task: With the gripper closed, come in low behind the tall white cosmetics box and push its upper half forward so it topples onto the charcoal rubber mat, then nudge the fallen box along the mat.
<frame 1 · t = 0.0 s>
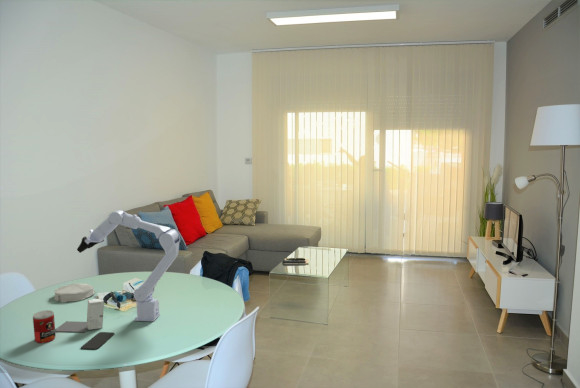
hand: (83, 248, 207), 32 cm above the table, tool tilted 50°, fingers open, 7 cm apart
mat: (75, 327, 199), on the table
skincare box: (94, 327, 198), on the table, touching mat
phone: (98, 342, 186), on the table
canned food: (45, 339, 188), on the table
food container: (74, 296, 239), on the table
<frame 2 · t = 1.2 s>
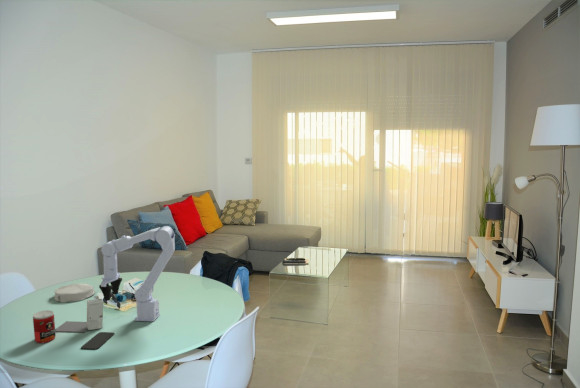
hand: (111, 296, 207), 10 cm above the table, tool pointing down, fingers open, 7 cm apart
nothing on the table moved.
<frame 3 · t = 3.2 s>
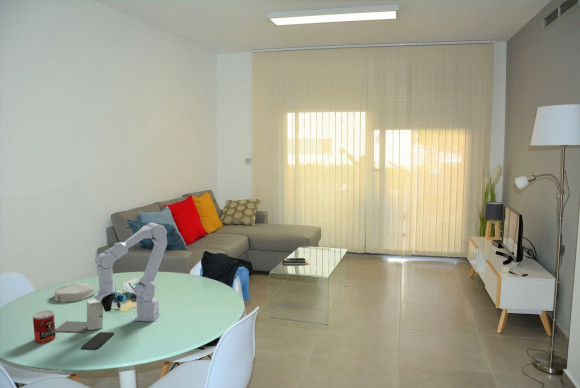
hand: (107, 310, 197), 8 cm above the table, tool pointing down, fingers closed
skincare box: (94, 327, 198), on the table, touching gripper, mat
everything else where it was.
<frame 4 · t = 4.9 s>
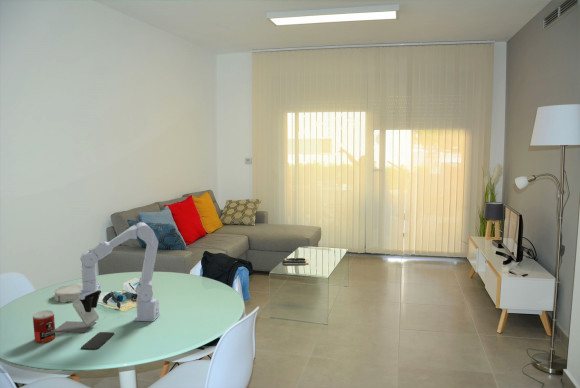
hand: (91, 309, 197), 8 cm above the table, tool pointing down, fingers open, 4 cm apart
skincare box: (93, 321, 199), point 2 cm above the table, touching gripper, mat
everything else where it was.
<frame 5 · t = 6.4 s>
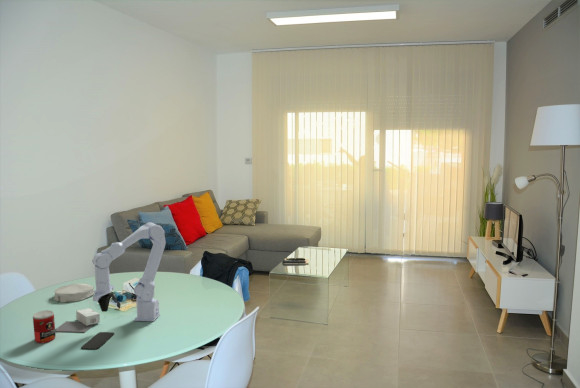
hand: (104, 310, 197), 8 cm above the table, tool pointing down, fingers closed
skincare box: (93, 320, 200), point 3 cm above the table, touching mat
everything else where it was.
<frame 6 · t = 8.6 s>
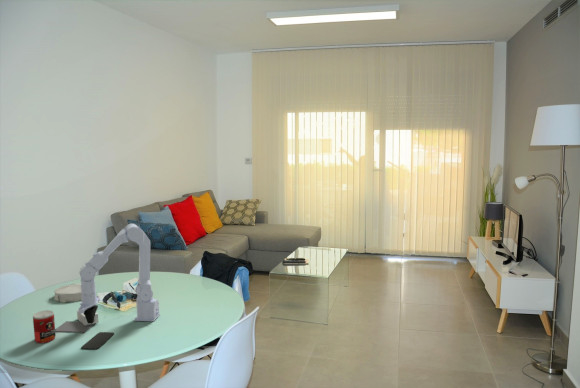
hand: (90, 322, 198), 2 cm above the table, tool pointing down, fingers closed
skincare box: (92, 320, 200), point 3 cm above the table, touching gripper, mat
everything else where it was.
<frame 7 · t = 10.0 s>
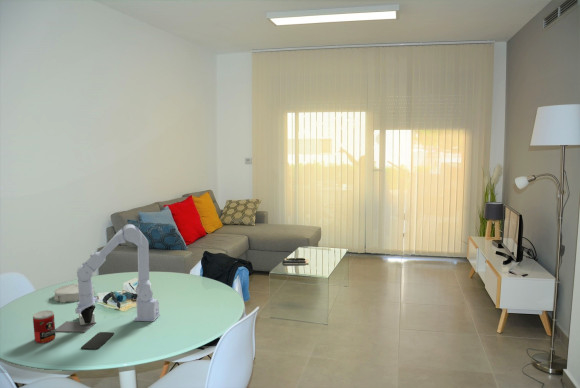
hand: (88, 322, 198), 2 cm above the table, tool pointing down, fingers closed
skincare box: (87, 320, 200), point 3 cm above the table, touching mat
everything else where it was.
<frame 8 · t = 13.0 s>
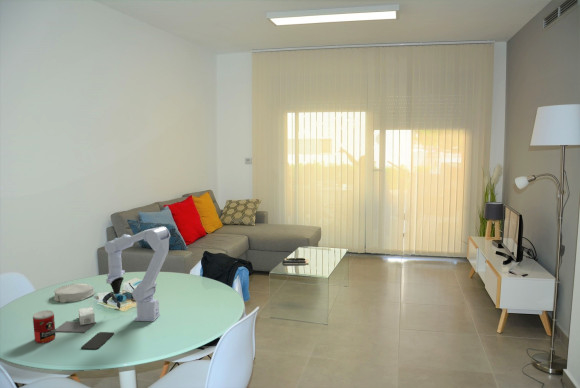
hand: (116, 293, 213), 10 cm above the table, tool pointing down, fingers closed
nothing on the table moved.
at the end: skincare box tilted 92°; skincare box inside the target area (4.4 cm from its centre), point 2.6 cm above the table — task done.
